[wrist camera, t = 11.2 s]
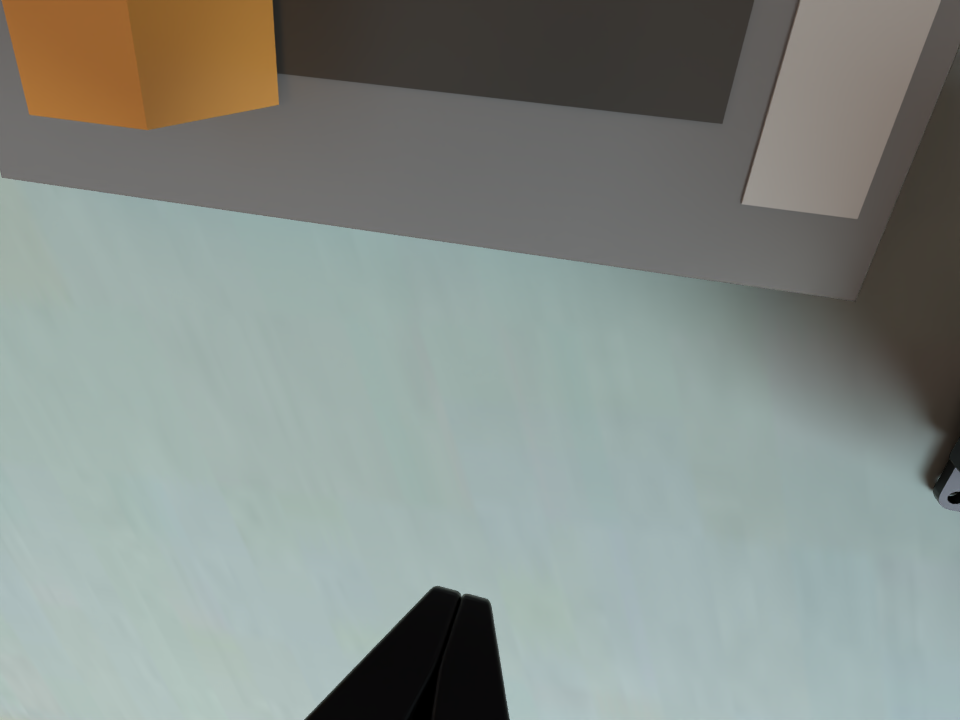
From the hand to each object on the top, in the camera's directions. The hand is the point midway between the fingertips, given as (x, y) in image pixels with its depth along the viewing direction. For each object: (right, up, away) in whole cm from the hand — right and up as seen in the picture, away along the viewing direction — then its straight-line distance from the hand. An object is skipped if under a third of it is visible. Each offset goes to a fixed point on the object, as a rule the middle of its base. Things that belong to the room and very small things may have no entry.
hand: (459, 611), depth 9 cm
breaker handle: (-6, +12, +6) cm, 14 cm away
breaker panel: (-1, +13, +8) cm, 15 cm away
